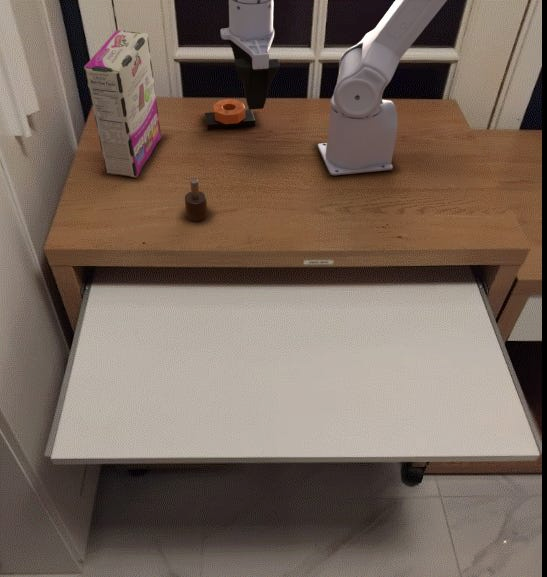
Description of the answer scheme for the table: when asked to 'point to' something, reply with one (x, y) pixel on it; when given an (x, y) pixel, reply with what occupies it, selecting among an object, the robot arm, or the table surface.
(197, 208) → the brown cylinder with stem
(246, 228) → the table surface
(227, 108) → the ring
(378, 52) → the robot arm
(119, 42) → the candy bar box
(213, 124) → the hob plate
